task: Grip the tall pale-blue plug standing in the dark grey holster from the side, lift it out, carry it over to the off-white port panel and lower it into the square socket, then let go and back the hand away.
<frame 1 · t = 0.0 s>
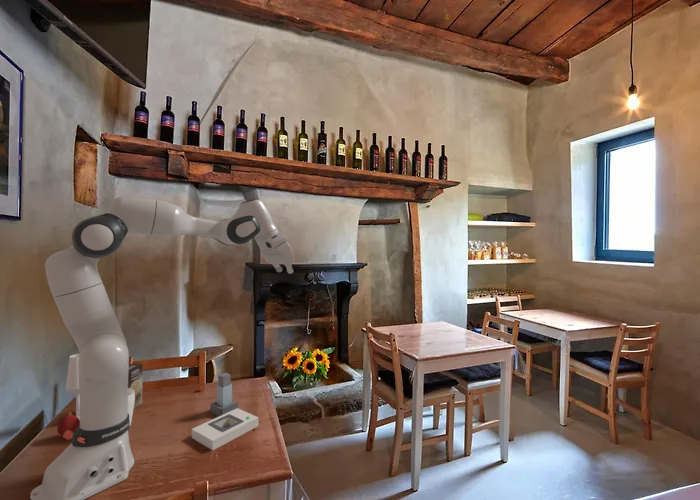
hand: (285, 272, 129), 54 cm above the table, tool tilted 30°, fingers open, 8 cm apart
onion: (69, 437, 113), on the table
plug: (224, 392, 131), in the holster
port: (226, 431, 116), on the table
cup: (119, 427, 119), on the table
coffee box: (127, 408, 133), on the table
holster: (224, 410, 131), on the table
champagne flute: (78, 421, 123), on the table
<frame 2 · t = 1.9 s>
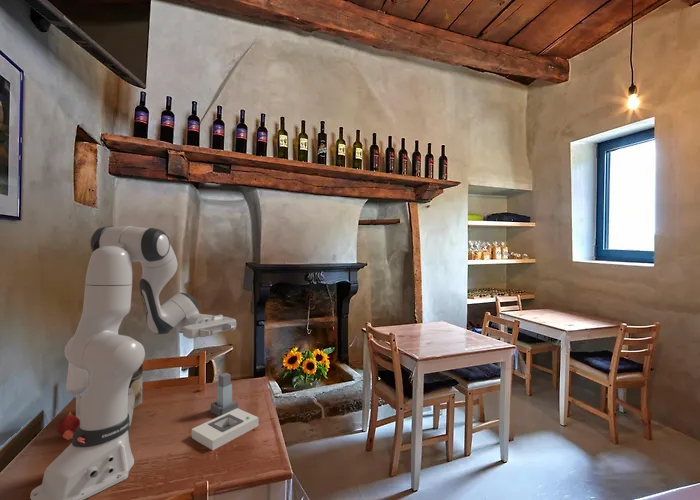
hand: (222, 330, 127), 32 cm above the table, tool horizontal, fingers open, 8 cm apart
nothing on the table moved.
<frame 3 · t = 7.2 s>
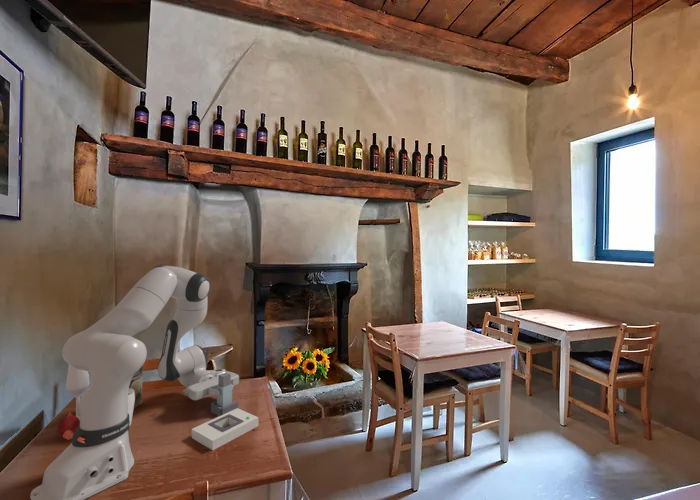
hand: (225, 390, 131), 8 cm above the table, tool horizontal, fingers closed on plug, 4 cm apart
plug: (224, 392, 131), in the holster, touching gripper
everything else where it was.
when the fingers open (10 cm above the table, at t = 11.7 s): plug drops 1 cm, resting on port.
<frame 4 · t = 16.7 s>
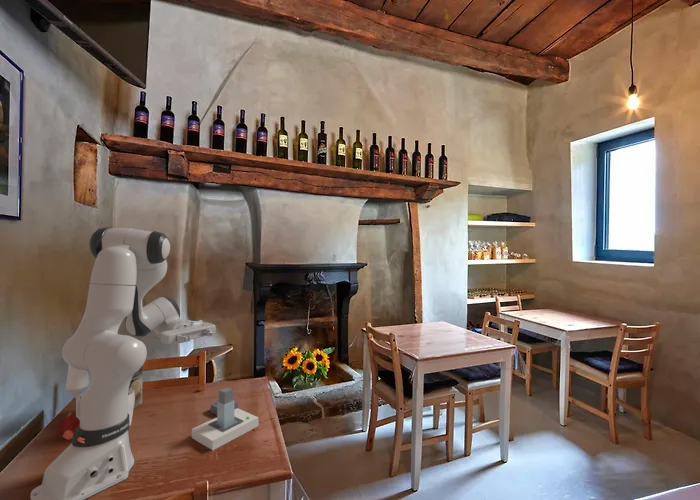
hand: (200, 336, 127), 30 cm above the table, tool horizontal, fingers open, 8 cm apart
plug: (225, 410, 116), in the port
everything else where it was.
at the end: plug 0.2 cm off-centre on the port, point 7.5 cm above the port's base; plug tilted 0°; the gripper is holding nothing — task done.
